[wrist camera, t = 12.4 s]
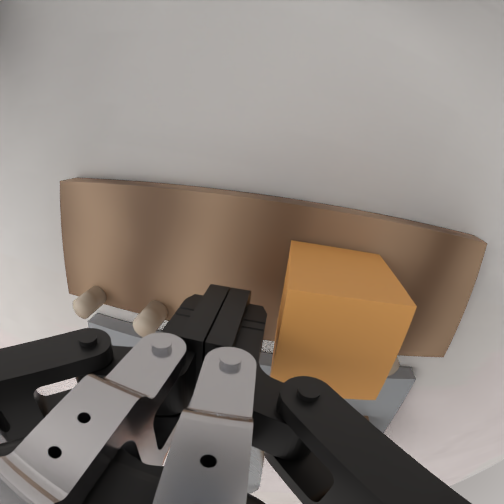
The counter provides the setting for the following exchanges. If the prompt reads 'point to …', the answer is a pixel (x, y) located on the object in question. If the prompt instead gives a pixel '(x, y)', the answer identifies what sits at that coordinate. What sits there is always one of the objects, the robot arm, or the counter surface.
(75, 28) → the counter surface
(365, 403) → the slate tray
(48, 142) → the counter surface
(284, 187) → the counter surface
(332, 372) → the orange block
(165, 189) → the rail
